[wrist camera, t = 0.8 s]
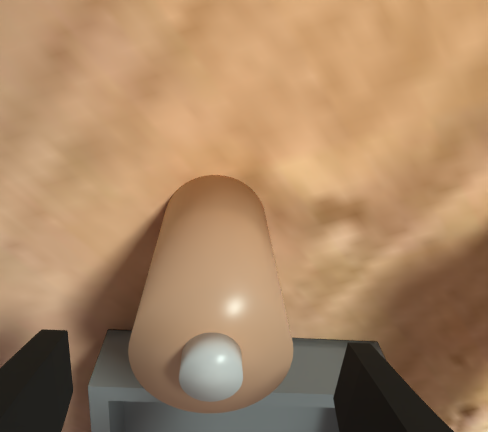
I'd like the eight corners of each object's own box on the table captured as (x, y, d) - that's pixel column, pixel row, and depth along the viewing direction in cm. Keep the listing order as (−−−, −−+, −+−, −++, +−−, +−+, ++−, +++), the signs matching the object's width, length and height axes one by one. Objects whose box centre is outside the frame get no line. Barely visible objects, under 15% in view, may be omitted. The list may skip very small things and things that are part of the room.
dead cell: (271, 179, 18) (311, 312, 10) (259, 268, 20) (285, 440, 12) (165, 171, 18) (119, 303, 10) (163, 262, 19) (123, 436, 11)
